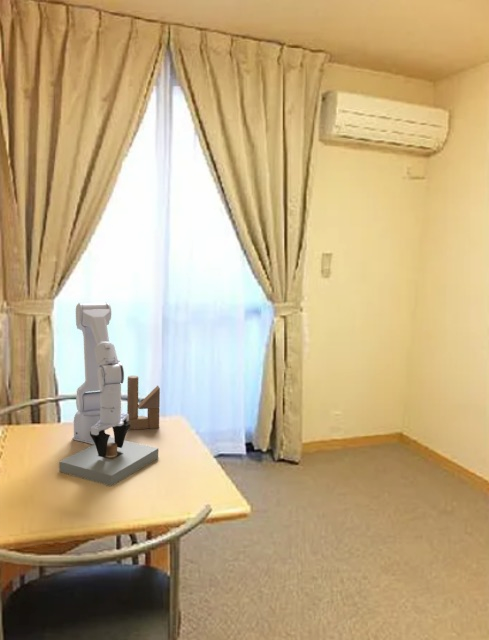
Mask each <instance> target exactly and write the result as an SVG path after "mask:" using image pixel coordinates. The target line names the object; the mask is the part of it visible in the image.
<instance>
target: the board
mask: <svg viewBox="0 0 489 640" xmlns="http://www.w3.org/2000/svg"><path fill="white" fill-rule="evenodd" d="M107 443H115V441H114V437H112V436H111V437H109V439H108V442H107ZM157 459H159V448H158V447H154V446H151V445H146V444H142V443H141V444H140V443H138V442H132V441H130V440H129V441H128V440H125V439H124V443H123V446H122V448H119V447H117V457H116V458H114V459H108V458H104V457H102V456H99V455H98V452H97V448H96V445H95V444H91V445H90V446H88V447H86V448H84V449H82V450H80V451H78V452H76V453H74V454H72V455H70V456H68V457H65V458H64V459H62V460H60V461H59V464H58V467H59V470H58V471H59V472H60V473H64V474H66V475H69V474H70V475H69V476H74V477H77V478H81V479H85V480H87V481H88V480H89V481H91V482H94V483H98V484H103V485H106V486H109V487H112V486H114V485H116V484H117V483H119V482H122V481H123V480H125V479H126V478H128V477H129V476H131V475H132V474H134V473H136V472H138V471H139V470H141V469H142V468H144V467H146V466H148V465H149V464H151V463H153V462H154V461H155V460H157Z"/></svg>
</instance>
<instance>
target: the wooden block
mask: <svg viewBox="0 0 489 640" xmlns="http://www.w3.org/2000/svg"><path fill="white" fill-rule="evenodd" d="M126 391H127V394H126V395H127V402H126V404H127V409H126V410H127V413H126V414H129V421H126V422H128V423H130V427H129V429H128V431H130V430H133V431H134V430H144V429H150V430H151V429H159V428H160V406H161V405H160V401H161V400H160V399H161V398H160V397H161V395H160V393H161V392H160V391H161V389H160V386H159V385H156V387H154V389H152V390H151V391H150V393H149V394H147V395H146V396H145V397H144V398H143V399H142V400H141V401H140V403H139V376H138V375H128V376H127V390H126ZM144 409H146V410H147V416H145V415H139V410H144Z"/></svg>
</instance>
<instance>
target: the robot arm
mask: <svg viewBox="0 0 489 640" xmlns="http://www.w3.org/2000/svg"><path fill="white" fill-rule="evenodd" d="M111 319H112V307H111V305H110V304H109V302H108V301H107V302H91V303H90V302H87V303H84V302H82V303H81V302H78V303H77V304H76V307H75V323H76V324H75V325H76V329H77V330H80V331H82V335H83V355H84V377H85V379H84V382H83V383H82V384H81V385H79V386H78V387H77V389H76V399H75V405H76V410H77V412H76V413H75V415H74V417H73V437H71V439H72V440H74V441H78V442H82V443H86V444H91V445H94V444H95V445H96V448H97V452H98V455H99V456H102V457H105V456H106V451H107V442H108V439H109V437H112V436H111V435H110V434H108V433H106V431H107V430H109V429H110V428H112V431H113V438H114V441H115V443H116V444H117V447H119V448H122V446H123V443H124V440H125V439H126V435H127V433H128V431H129V430H128V429H129V427H130V423H128V422H126V421H129V414H127V413H122V384H123V383H124V381H125V370H124V366H123V363H122V362H121V360H119V359H118V356H117V351H116V348H115V345H114V344H113V343H112V342H110V340H109V338H110V337H109V332H108V325H110V321H111Z"/></svg>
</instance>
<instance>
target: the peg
mask: <svg viewBox="0 0 489 640" xmlns="http://www.w3.org/2000/svg"><path fill="white" fill-rule="evenodd" d="M116 457H117V444H116V443H107V451H106V456H105V457H104V458H108V459H114V458H116Z"/></svg>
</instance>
